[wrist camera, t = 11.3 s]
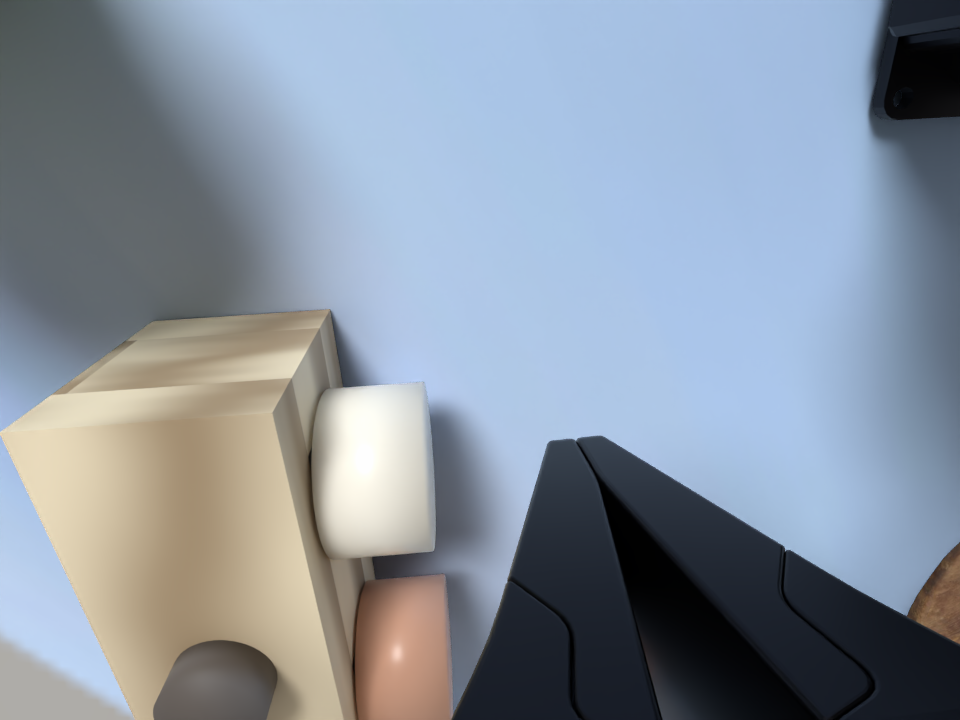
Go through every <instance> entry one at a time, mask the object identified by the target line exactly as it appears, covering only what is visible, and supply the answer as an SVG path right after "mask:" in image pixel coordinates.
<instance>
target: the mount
mask: <svg viewBox="0 0 960 720" xmlns="http://www.w3.org/2000/svg"><path fill="white" fill-rule="evenodd" d="M331 388H343V383H342V377H341V371H340V365H339V360H338V354H337V348H336V342H335V336H334V330H333V324H332V318H331V312H330V309H327V310H312V311H297V312H282V313H267V314H252V315H238V316H223V317H208V318H193V319H178V320H163V321H152V322H151V323H149V324H148V325H147V326H145V327H144V328H142V329H141V330H140V331H138V332H137V333H136V334H134V335H133V336H132V337H130V338H129V339H127V340H126V341H125V342H123V343H122V344H121V345H119V346H118V347H116V348H115V349H114V350H112V351H111V352H110V353H108V354H107V355H105V356H104V357H103V358H101V359H100V360H99V361H97V362H96V363H94V364H93V365H92V366H90V367H89V368H88V369H86V370H85V371H84V372H82V373H81V374H79V375H78V376H77V377H75V378H74V379H73V380H71V381H70V382H68V383H67V384H66V385H64V386H63V387H62V388H60V389H59V390H57V391H56V392H55V393H53V394H52V395H51V396H49V397H48V398H46V399H45V400H44V401H42V402H41V403H40V404H38V405H37V406H35V407H34V408H33V409H31V410H30V411H29V412H27V413H26V414H25V415H23V416H22V417H20V418H19V419H18V420H16V421H15V422H14V423H12V424H11V425H9V426H8V427H7V428H5V429H4V430H3V431H1V432H0V435H1V437H2V439H3V441H4V444H5V446H6V448H7V450H8V452H9V454H10V456H11V458H12V461H13V463H14V465H15V467H16V469H17V471H18V473H19V475H20V477H21V480H22V482H23V484H24V486H25V488H26V490H27V492H28V494H29V496H30V499H31V501H32V503H33V505H34V507H35V509H36V511H37V513H38V515H39V518H40V520H41V522H42V524H43V526H44V528H45V530H46V532H47V534H48V537H49V539H50V541H51V543H52V545H53V547H54V549H55V551H56V553H57V556H58V558H59V560H60V562H61V564H62V566H63V568H64V570H65V572H66V575H67V577H68V579H69V581H70V583H71V585H72V587H73V589H74V591H75V594H76V596H77V598H78V600H79V602H80V604H81V606H82V608H83V610H84V613H85V615H86V617H87V619H88V621H89V623H90V625H91V627H92V630H93V632H94V634H95V636H96V638H97V640H98V642H99V644H100V646H101V649H102V651H103V653H104V655H105V657H106V659H107V661H108V663H109V665H110V668H111V670H112V672H113V674H114V676H115V678H116V680H117V682H118V684H119V687H120V689H121V691H122V693H123V695H124V697H125V699H126V701H127V703H128V706H129V708H130V710H131V712H132V714H133V716H134V718H135V720H359V718H358V711H357V701H356V684H355V677H354V672H353V667H352V664H353V658H354V652H355V645H356V629H357V619H358V610H359V604H360V598H361V594H362V590H363V587H364V585H365V583H366V581H368V580H376V579H375V573H374V567H373V561H372V557H362V558H350V559H338V560H332V559H330V558H329V557H328V556H327V554H326V553H325V551H324V549H323V546H322V544H321V541H320V537H319V533H318V529H317V524H316V519H315V512H314V504H313V493H312V472H311V468H310V463H309V458H308V456H309V453H310V450H311V448H312V439H313V429H314V421H315V416H316V411H317V407H318V403H319V401H320V398H321V396H322V394H323V392H324V391H325V390H327V389H331Z"/></svg>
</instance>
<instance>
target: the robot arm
mask: <svg viewBox="0 0 960 720" xmlns="http://www.w3.org/2000/svg"><path fill="white" fill-rule="evenodd" d="M899 90H900V91H901V100H900V102H899V104H898V105H897V106H896V107H895V106H894V101H893V99H894V97H895V94H896V93H897V92H898V91H899ZM873 110H874V112H875V114H876V115H877V116H878V117H879V118H881V119H886V120H904V119H922V118H940V117H957V116H960V0H894V1H893V6H892V10H891V15H890V19H889V29H888V34H887V39H886V43H885V48H884V52H883V57H882V61H881V66H880V70H879V75H878V79H877V84H876V88H875V93H874V98H873ZM451 720H960V644H958V643H956V642H954V641H952V640H951V639H949V638H947V637H945V636H943V635H941V634H939V633H937V632H935V631H933V630H931V629H929V628H927V627H925V626H924V625H922V624H920V623H918V622H916V621H914V620H912V619H910V618H908V617H907V616H905V615H903V614H901V613H899V612H897V611H895V610H894V609H892V608H890V607H888V606H886V605H884V604H882V603H881V602H879V601H877V600H875V599H873V598H871V597H869V596H868V595H866V594H864V593H862V592H860V591H858V590H857V589H855V588H853V587H852V586H850V585H848V584H846V583H845V582H843V581H841V580H840V579H838V578H836V577H834V576H833V575H831V574H829V573H828V572H826V571H824V570H822V569H821V568H819V567H817V566H816V565H814V564H812V563H811V562H809V561H807V560H806V559H804V558H802V557H801V556H799V555H798V554H796V553H794V552H793V551H791V550H787V551H786V552H785V548H784V546H782V545H781V544H779V543H778V542H776V541H774V540H773V539H771V538H769V537H768V536H766V535H764V534H763V533H761V532H759V531H758V530H756V529H755V528H753V527H751V526H750V525H748V524H746V523H745V522H743V521H741V520H740V519H738V518H737V517H735V516H733V515H732V514H730V513H728V512H727V511H725V510H723V509H722V508H720V507H718V506H717V505H715V504H714V503H712V502H710V501H709V500H707V499H705V498H704V497H702V496H700V495H699V494H697V493H696V492H694V491H692V490H691V489H689V488H687V487H686V486H684V485H682V484H681V483H679V482H678V481H676V480H674V479H673V478H671V477H669V476H668V475H666V474H664V473H663V472H661V471H659V470H658V469H656V468H655V467H653V466H651V465H650V464H648V463H646V462H645V461H643V460H641V459H640V458H638V457H637V456H635V455H633V454H632V453H630V452H628V451H627V450H625V449H623V448H622V447H620V446H618V445H617V444H615V443H614V442H612V441H610V440H609V439H607V438H605V437H603V436H591V437H582V438H578V439H577V440H576V441H575V440H574V439H563V440H553V441H550V442H549V443H548V444H547V447H546V451H545V454H544V457H543V461H542V464H541V468H540V471H539V474H538V478H537V481H536V485H535V488H534V491H533V495H532V498H531V502H530V505H529V508H528V512H527V515H526V519H525V522H524V525H523V529H522V532H521V536H520V539H519V542H518V546H517V549H516V553H515V556H514V559H513V563H512V566H511V570H510V573H509V576H508V582H507V583H506V585H505V589H504V592H503V595H502V599H501V602H500V605H499V608H498V611H497V614H496V617H495V620H494V623H493V626H492V629H491V632H490V635H489V637H488V640H487V642H486V644H485V647H484V649H483V651H482V654H481V656H480V658H479V661H478V663H477V665H476V668H475V670H474V672H473V674H472V677H471V679H470V681H469V683H468V685H467V687H466V689H465V691H464V693H463V695H462V697H461V700H460V702H459V704H458V706H457V708H456V710H455V712H454V714H453V716H452V718H451Z"/></svg>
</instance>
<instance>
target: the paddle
mask: <svg viewBox="0 0 960 720" xmlns="http://www.w3.org/2000/svg"><path fill="white" fill-rule="evenodd" d="M907 617H908V618H910V619H912V620H914V621H916V622H918V623H920V624H922V625H924V626H925V627H927V628H929V629H931V630H933V631H935V632H937V633H939V634H941V635H943V636H945V637H947V638H949V639H951V640H952V641H954V642H956V643H958V644H960V543H959V544H958V545H957V546H956V547H954V548H953V549H952V550H951V551H950V552H949V553H948V554H947V556H946V557H945V558H944V559H943V560H942V561H941V563H940V564H939V565H938V567H937V568H936V569H935V571H934V572H933V573H932V575H931V576H930V578H929V579H928V580H927V582H926V583H925V585H924V586H923V588H922V589H921V591H920V592H919V593H918V595H917V597H916V599H915V600H914V602H913V604H912V606H911V608H910V610H909V613H908V615H907Z"/></svg>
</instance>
